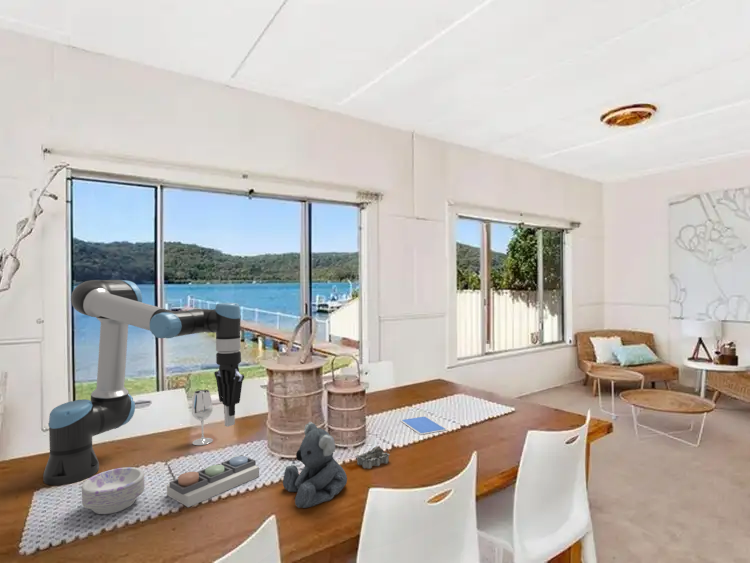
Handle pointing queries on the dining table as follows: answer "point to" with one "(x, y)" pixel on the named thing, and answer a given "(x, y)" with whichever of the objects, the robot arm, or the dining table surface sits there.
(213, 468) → the button sage
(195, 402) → the wineglass
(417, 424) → the tablet computer
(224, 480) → the console
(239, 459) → the button slate
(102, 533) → the dining table surface
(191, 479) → the button terracotta
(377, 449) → the egg carton
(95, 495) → the paper bowls
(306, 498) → the koala plush
